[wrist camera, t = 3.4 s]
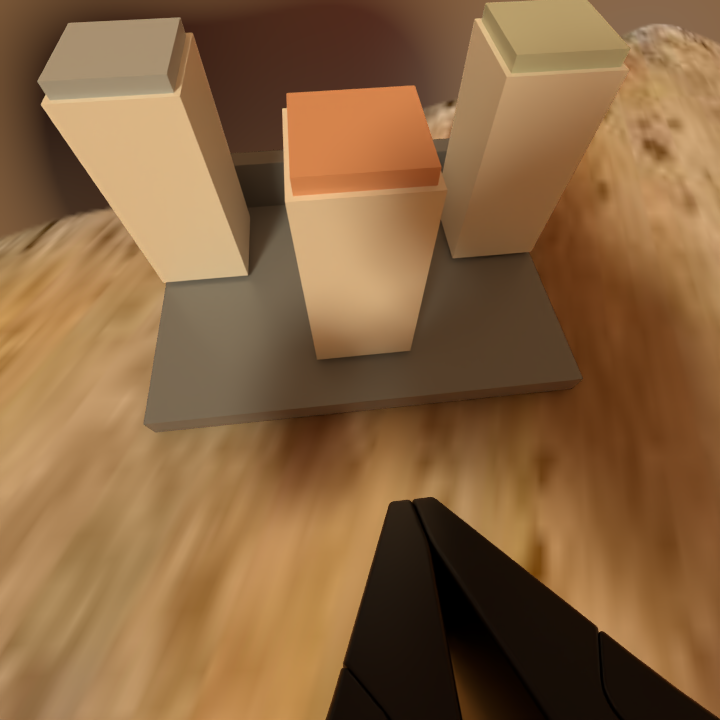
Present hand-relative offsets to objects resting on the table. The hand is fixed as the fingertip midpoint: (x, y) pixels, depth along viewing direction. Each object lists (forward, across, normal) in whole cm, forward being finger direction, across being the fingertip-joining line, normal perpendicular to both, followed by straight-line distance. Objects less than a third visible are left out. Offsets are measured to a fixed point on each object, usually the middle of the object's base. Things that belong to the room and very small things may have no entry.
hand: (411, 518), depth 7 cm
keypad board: (+14, 0, -3) cm, 14 cm away
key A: (+15, +7, -5) cm, 17 cm away
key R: (+11, 0, -2) cm, 11 cm away
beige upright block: (+15, -7, -5) cm, 17 cm away
